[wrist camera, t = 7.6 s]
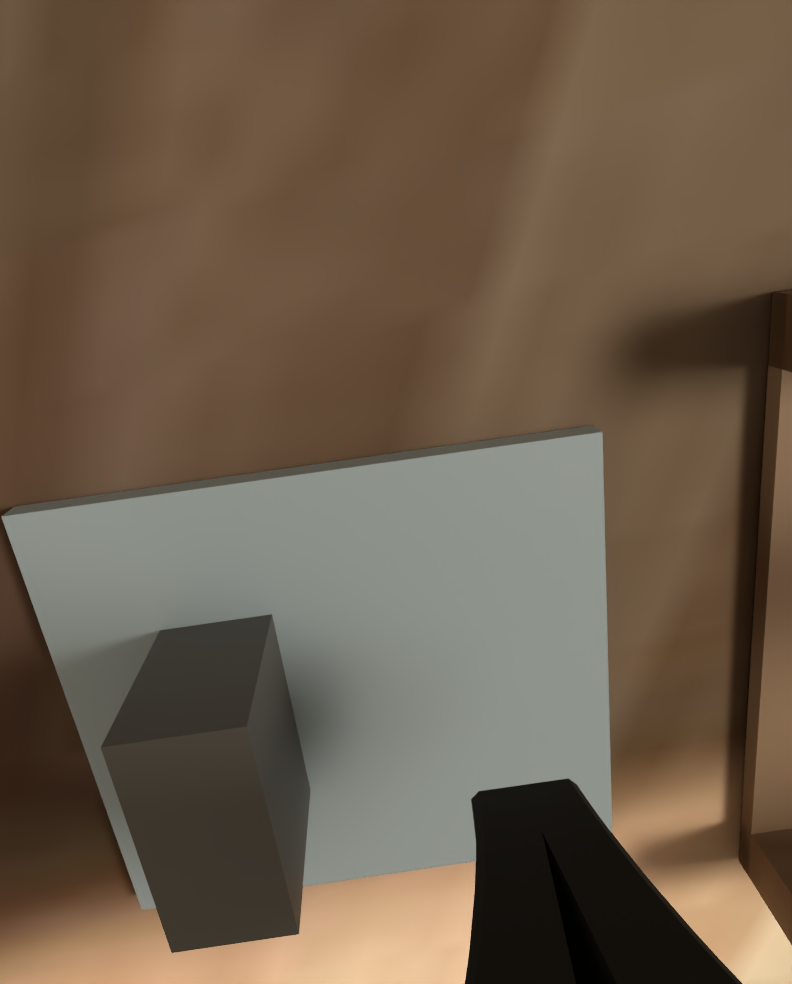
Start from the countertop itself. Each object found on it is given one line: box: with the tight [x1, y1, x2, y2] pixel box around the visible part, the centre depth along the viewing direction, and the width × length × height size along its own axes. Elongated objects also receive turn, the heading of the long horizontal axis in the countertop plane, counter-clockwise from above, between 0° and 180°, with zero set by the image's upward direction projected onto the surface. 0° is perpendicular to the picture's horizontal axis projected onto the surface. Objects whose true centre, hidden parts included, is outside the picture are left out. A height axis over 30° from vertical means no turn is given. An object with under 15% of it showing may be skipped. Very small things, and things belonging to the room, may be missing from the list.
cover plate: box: [1, 425, 612, 953], centre depth 12 cm, size 9×10×4 cm
